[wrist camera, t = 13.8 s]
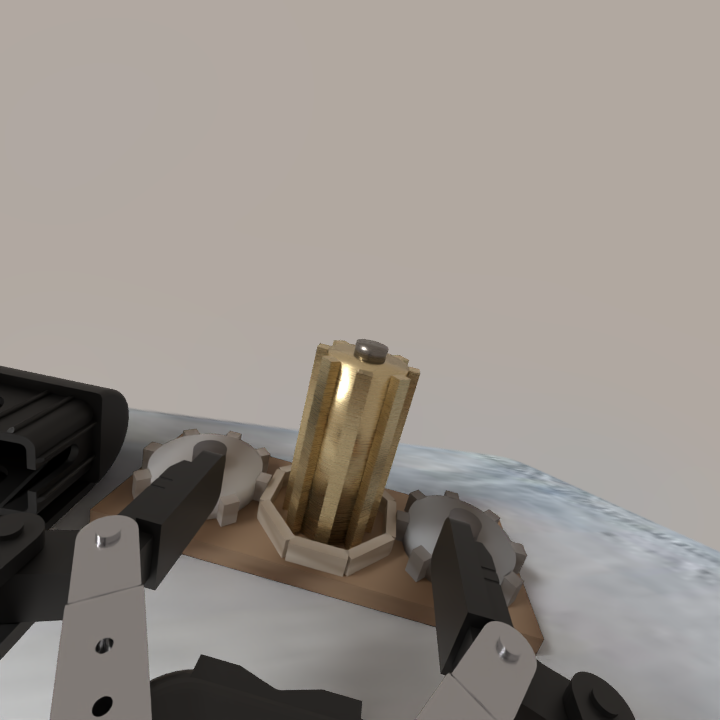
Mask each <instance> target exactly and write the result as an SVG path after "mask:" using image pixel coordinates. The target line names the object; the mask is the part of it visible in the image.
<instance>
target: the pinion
mask: <svg viewBox="0 0 720 720" xmlns="http://www.w3.org/2000/svg"><path fill="white" fill-rule="evenodd" d="M408 361H409V360H408V359H406V358H404V357H402V356H400V355H391V354H388V347H387V346H385V345H383V344H381V343H379V342H375V341H371V340H366V339H359V340H357V343H356V345H353V344H349V343H347V342H346V341H337V340H335V341H334V343H333V346H331V347H330V346H329V345H325V344H321V343H320V344H319V345H318V347H317V351H316V356H315V360H314V365H313V370H312V375H311V379H310V384H309V389H308V393H307V398H306V402H305V407H304V411H303V416H302V420H301V425H300V430H299V434H298V439H297V443H296V448H295V453H294V457H293V462H292V467H291V471H290V476H289V480H288V485H287V490H286V494H285V499H284V504H283V508H282V509H285V510H288V513H287V518H286V522H285V523H286V524H287V526H288V527H289V529H290V530H291V531H292V533H293V534H294V535H295V534H297V533H302V534H303V535H304V536H305V537H307V538H308V539H310V540H312V541H316V542H319V543H323V544H326V545H342V544H343V545H344V546H345V547H346V549H347V550H349V549H351V548H353V547H356V546H358V545H360V544H361V542H362V538H363V535H364V532H368V533H371V530H372V527H373V524H374V521H375V518H376V514H377V511H378V508H379V505H380V501H381V498H382V495H383V492H384V489H385V485H386V482H387V479H388V476H389V472H390V469H391V466H392V463H393V460H394V456H395V453H396V450H397V447H398V443H399V440H400V437H401V434H402V431H403V427H404V424H405V421H406V417H407V414H408V411H409V408H410V405H411V401H412V398H413V395H414V392H415V389H416V385H417V382H418V379H419V376H420V370H419V369H416V368H412V367H408Z"/></svg>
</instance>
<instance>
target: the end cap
mask: <svg viewBox="0 0 720 720" xmlns="http://www.w3.org/2000/svg"><path fill="white" fill-rule="evenodd" d="M128 420H129V410H128V404H127V402H126V399H125V398H124V396H123V395H122V394H121V393H120V392H118V391H117V390H113V389H109V388H103V387H99V386H94V385H89V384H84V383H80V382H75V381H70V380H65V379H61V378H56V377H51V376H46V375H42V374H37V373H32V372H27V371H22V370H18V369H13V368H8V367H3V366H0V517H1V516H4V515H8V514H13V513H33V514H36V515H39V516H40V517H41V518H43V520H44V522H45V530H48V529H49V528H51V527H52V526H53V525H54V524H55V523H56V522H57V521H58V520H59V519H60V518H61V517H62V516H63V515H64V514H66V513H67V512H68V511H69V510H70V509H71V508H72V507H73V506H74V505H75V504H76V503H77V502H78V501H79V500H80V499H82V498H83V497H84V496H85V495H86V494H87V493H88V492H89V491H90V490H91V488H92V487H93V486H94V485H95V484H96V483H97V482H99V481H100V480H101V479H102V477H103V476H104V475H105V474H106V473H107V471H108V470H109V469H110V467H111V466H112V464H113V463H114V461H115V459H116V457H117V456H118V454H119V452H120V449H121V447H122V445H123V442H124V439H125V436H126V432H127V427H128Z"/></svg>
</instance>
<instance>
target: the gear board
mask: <svg viewBox="0 0 720 720" xmlns="http://www.w3.org/2000/svg"><path fill="white" fill-rule="evenodd" d="M241 435H242V434H240V433H236V432H232V431H230V432H229V433H228V434H227V435H220V434H200V433H199V432H198V430H197V429H191V430H184V431H183V434H181V435H180V436H179V437H178V438H176V439H174V440H171V441H169V442H167V443H165V444H164V445H162V444H159V443H155V442H152V443H150V444H149V445H148V446H146V447H145V448H144V449H143V462H142V467H141V468H140V469H139V470H138V471H133V475H132V476H130V477H129V478H128V479H127V480H126V481H124V482H123V483H122V484H121V485H119V486H118V487H117V488H116V489H115V490H113V491H112V492H111V493H110V494H109V495H107V496H106V497H105V498H104V499H103V500H101V501H100V502H99V503H98V504H96V505H95V506H94V507H93V508H92V509H90V522H92V521H94V520H96V519H99V518H102V517H106V516H112V515H118V514H119V513H120V512H121V511H122V510H123V509H124V508H125V507H126V506H127V505H128V504H130V503H131V502H132V501H133V500H134V499H135V498H136V497H137V496H138V495H139V494H140V493H141V492H143V491H144V490H145V489H146V488H147V487H148V486H150V485H151V483H152V482H153V481H154V480H155V479H157V478H159V476H160V475H161V474H162V473H163V472H164V471H165V470H166V469H167V468H168V467H170V466H172V465H174V464H176V463H178V462H180V461H183V460H187V461H190V462H192V461H193V460H194V459H195V458H196V457H197V456H198V455H199V454H200V453H201V452H202V451H203V450H207V451H211V452H214V453H218V454H222V455H225V457H226V462H225V469H224V475H223V482H222V488H221V493H220V497H219V500H218V502H217V504H216V506H215V508H214V510H213V511H212V513H211V514H210V515H209V517H208V518H207V519H206V521H205V522H204V524H203V525H202V526H201V528H200V529H199V530H198V532H197V533H196V535H195V536H194V537H193V539H192V540H191V542H190V543H189V544H188V546H187V547H186V548H185V550H184V551H183V553H182V554H184V555H188V556H191V557H195V558H198V559H202V560H205V561H209V562H212V563H215V564H219V565H222V566H226V567H229V568H233V569H236V570H240V571H243V572H247V573H250V574H254V575H257V576H261V577H264V578H268V579H271V580H275V581H278V582H282V583H285V584H289V585H292V586H295V587H299V588H302V589H306V590H309V591H313V592H316V593H320V594H323V595H327V596H330V597H334V598H337V599H341V600H344V601H348V602H351V603H355V604H358V605H362V606H365V607H369V608H372V609H375V610H379V611H382V612H386V613H389V614H393V615H396V616H400V617H403V618H407V619H410V620H414V621H417V622H421V623H424V624H428V625H431V626H435V627H436V621H435V611H434V601H433V591H432V581H431V570H430V568H431V558H432V554H433V550H434V548H435V545H436V542H437V540H438V537H439V534H440V532H441V529H442V526H443V524H444V521H445V519H446V518H447V517H449V518H452V519H456V520H459V521H463V522H467V523H469V524H470V526H471V530H472V534H473V538H474V541H477V542H481V543H483V545H484V546H485V547H486V549H487V550H488V552H489V553H490V554H491V556H492V558H493V562H494V565H495V568H496V573H497V575H498V578H499V581H500V583H499V584H500V585H501V588H502V591H503V594H504V597H505V601H506V604H507V607H508V610H509V614H510V617H511V620H512V623H513V627H514V629H516V630H517V631H518V632H519V633H521V634H522V635H523V636H524V638H525V639H526V640H527V641H528V643H529V644H530V646H531V647H532V649H533V651H534V653H535V655H536V653H537V651H538V649H539V647H540V646H541V644H542V642H543V640H544V638H543V636H542V633H541V630H540V628H539V625H538V622H537V620H536V617H535V614H534V612H533V609H532V606H531V603H530V601H529V598H528V595H527V593H526V590H525V587H524V585H523V582H524V581H523V580H522V579H521V577H520V574H519V571H520V569H521V567H522V565H523V563H524V561H525V559H526V557H527V554H526V552H525V550H524V547H523V545H522V544H518V543H515V542H511V540H510V539H509V537H508V536H507V534H506V533H505V531H504V530H503V528H502V526H501V523H500V520H499V519H500V517H498V516H497V515H496V514H494V513H493V512H492V511H491V510H487V511H485V512H482V511H481V510H479V509H478V508H476V507H474V506H472V505H470V504H468V503H466V502H463V501H461V500H459V496H458V493H454V492H450V491H447V490H446V492H445V494H444V496H438V495H432V496H425V495H424V494H423V493H421V492H420V491H419V490H417V491H414V492H411V493H410V494H409V495H407V494H404V493H400V492H396V491H393V490H389V489H384V492H383V495H382V498H381V501H380V505H379V508H378V511H377V514H376V518H375V521H374V524H373V527H372V530H371V533H368V532H364V535H363V538H362V542H361V544H360V545H358V546H356V547H353V548H351V549H349V550H347V549H346V547H345V546H344V545H343V544H342V545H326V544H323V543H319V542H316V541H312V540H310V539H308V538H307V537H305V536H304V535H303V534H302V533H297V534H295V535H294V534H293V533H292V531H291V530H290V529H289V527H288V526H287V524H286V523H285V522H286V518H287V513H288V510H285V509H282V508H283V504H284V499H285V494H286V490H287V485H288V480H289V476H290V471H291V467H292V463H291V462H288V461H284V460H281V459H277V458H273V457H270V454H269V452H268V451H267V450H266V448H259V449H254V448H253V447H252V446H251V445H249V444H248V443H246V442H244V441H242V440H241Z"/></svg>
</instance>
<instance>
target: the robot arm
mask: <svg viewBox="0 0 720 720" xmlns="http://www.w3.org/2000/svg"><path fill="white" fill-rule="evenodd" d="M225 462H226V457H225V455H222V454H218V453H214V452H211V451H207V450H203V451H202V452H201V453H200V454H199V455H198V456H197V457H196V458H195V459H194V460H193V461H192V462H190V461H187V460H183V461H180V462H178V463H176V464H174V465H172V466H170V467H168V468H167V469H166V470H165V471H164V472H163V473H162V474H161V475H160V476H159V478H157V479H155V480H154V481H153V482H152V483H151V485H150V486H148V487H147V488H146V489H145V490H144V491H143V492H141V493H140V494H139V495H138V496H137V497H136V498H135V499H134V500H133V501H132V502H131V503H130V504H128V505H127V506H126V507H125V508H124V509H123V510H122V511H121V512H120V513H119V514H118V515H112V516H106V517H102V518H99V519H96V520H94V521H92V522H90V523H89V524H87V525H86V526H84V527H83V528H82V529H81V530H45V522H44V520H43V518H41V517H40V516H39V515H36V514H33V513H13V514H8V515H4V516H1V517H0V660H1V659H2V658H3V657H4V655H5V654H6V653H7V652H8V651H9V650H10V649H11V648H12V647H13V646H14V644H15V643H16V642H17V641H18V640H19V639H20V638H21V637H22V636H23V635H24V634H25V632H26V631H27V630H28V629H29V628H30V627H31V626H32V625H33V624H34V623H35V622H38V621H56V620H63V623H62V630H61V638H60V645H59V653H58V660H57V668H56V675H55V683H54V691H53V698H52V706H51V713H50V720H363V719H361V708H362V701H360V700H356V699H353V698H349V697H346V696H342V695H339V694H336V693H332V692H329V691H325V690H277V689H275V688H273V687H271V686H270V685H268V684H267V683H265V682H264V681H262V680H261V679H259V678H258V677H256V676H255V675H253V674H252V673H250V672H249V671H247V670H246V669H244V668H243V667H241V666H240V665H236V664H233V663H229V662H226V661H222V660H219V659H215V658H212V657H209V656H205V655H202V654H201V656H200V658H199V660H198V662H197V664H196V666H195V668H194V669H190V670H181V671H175V672H172V673H168V674H165V675H162V676H160V677H157V678H155V679H153V680H151V681H150V679H149V662H148V644H147V627H146V610H145V593H144V587H145V588H149V589H152V590H156V588H157V587H158V586H159V584H160V583H161V581H162V580H163V579H164V577H165V576H166V575H167V573H168V572H169V570H170V569H171V568H172V566H173V565H174V564H175V562H176V561H177V559H178V558H179V557H180V555H181V554H182V553H183V551H184V550H185V548H186V547H187V546H188V544H189V543H190V542H191V540H192V539H193V537H194V536H195V535H196V533H197V532H198V530H199V529H200V528H201V526H202V525H203V524H204V522H205V521H206V519H207V518H208V517H209V515H210V514H211V513H212V511H213V510H214V508H215V506H216V504H217V502H218V500H219V497H220V493H221V488H222V482H223V475H224V469H225ZM430 570H431V581H432V591H433V601H434V611H435V621H436V631H437V641H438V652H439V662H440V672H441V674H443V675H446V676H445V678H444V679H443V681H442V682H441V683H440V685H439V686H438V688H437V689H436V690H435V692H434V693H433V695H432V696H431V698H430V699H429V700H428V702H427V703H426V705H425V706H424V708H423V709H422V710H421V712H420V713H419V715H418V716H417V718H416V719H415V720H635V718H634V715H633V713H632V712H631V710H630V708H629V706H628V705H627V703H626V702H625V701H624V699H623V698H622V697H621V696H620V694H619V693H618V692H617V691H616V690H615V689H614V688H613V687H612V686H611V685H609V684H608V683H607V682H606V681H604V680H603V679H601V678H600V677H598V676H596V675H594V674H591V673H588V672H578V673H576V674H575V675H574V676H573V678H572V679H571V681H570V680H568V679H567V678H565V677H563V676H561V675H560V674H558V673H556V672H555V671H553V670H551V669H550V668H548V667H546V666H545V665H543V664H542V663H540V662H539V661H538V660H537V659H536V656H535V653H534V651H533V649H532V647H531V646H530V644H529V643H528V641H527V640H526V639H525V638H524V636H523V635H522V634H521V633H519V632H518V631H517V630H516V629H514V627H513V623H512V620H511V617H510V614H509V610H508V607H507V604H506V601H505V597H504V594H503V591H502V588H501V585H500V584H499V583H500V581H499V578H498V575H497V573H496V568H495V565H494V562H493V558H492V556H491V554H490V553H489V552H488V550H487V549H486V547H485V546H484V545H483V543H481V542H477V541H474V538H473V534H472V530H471V526H470V524H469V523H467V522H463V521H459V520H456V519H452V518H449V517H447V518H446V519H445V521H444V524H443V526H442V529H441V532H440V534H439V537H438V540H437V542H436V545H435V548H434V550H433V554H432V558H431V568H430Z"/></svg>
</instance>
